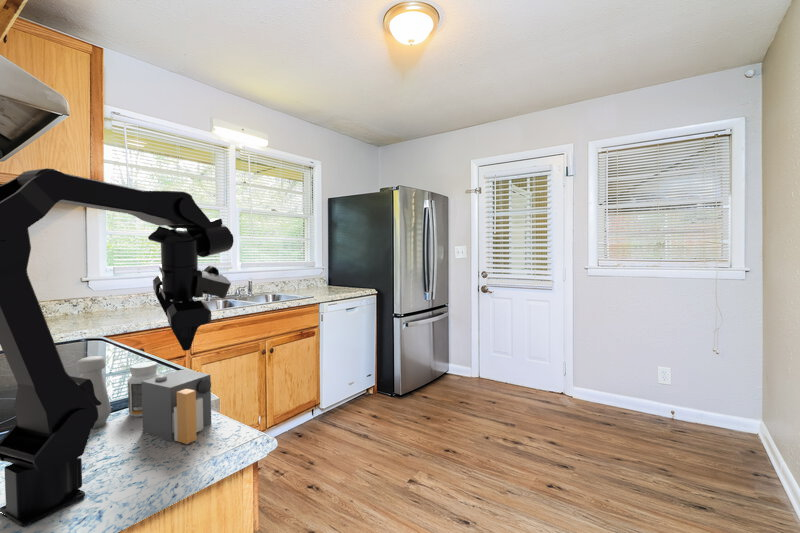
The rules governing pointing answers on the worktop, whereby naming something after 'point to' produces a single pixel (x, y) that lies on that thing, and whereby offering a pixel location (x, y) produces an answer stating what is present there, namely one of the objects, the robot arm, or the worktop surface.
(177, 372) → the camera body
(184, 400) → the wooden upright post
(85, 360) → the salt shaker
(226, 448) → the worktop surface
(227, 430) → the worktop surface
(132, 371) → the pill bottle
